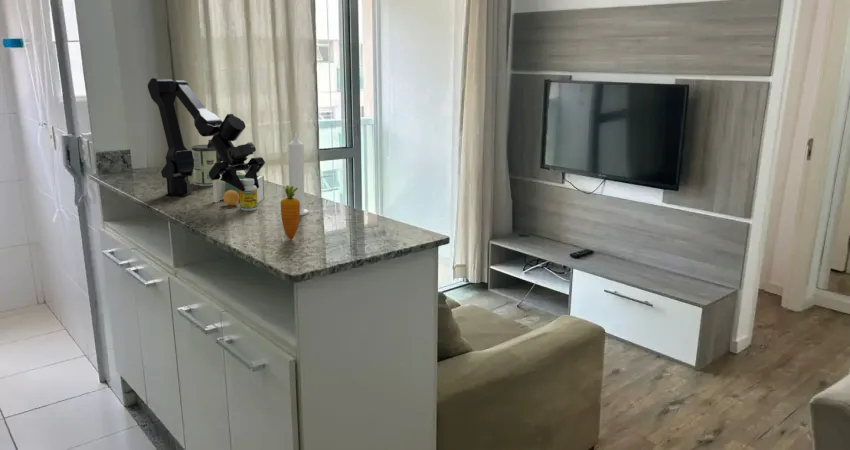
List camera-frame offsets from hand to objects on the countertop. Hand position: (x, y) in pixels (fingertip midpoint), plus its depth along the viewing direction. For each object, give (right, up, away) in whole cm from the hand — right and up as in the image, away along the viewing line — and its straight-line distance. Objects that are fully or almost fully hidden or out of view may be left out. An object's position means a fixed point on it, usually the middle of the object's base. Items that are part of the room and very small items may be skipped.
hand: (251, 189), depth 196 cm
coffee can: (-27, +4, +39) cm, 48 cm away
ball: (-8, -2, +6) cm, 10 cm away
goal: (-8, -3, +13) cm, 16 cm away
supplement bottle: (-1, -6, +2) cm, 7 cm away
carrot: (+19, -15, -29) cm, 38 cm away
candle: (+14, -8, 0) cm, 16 cm away
